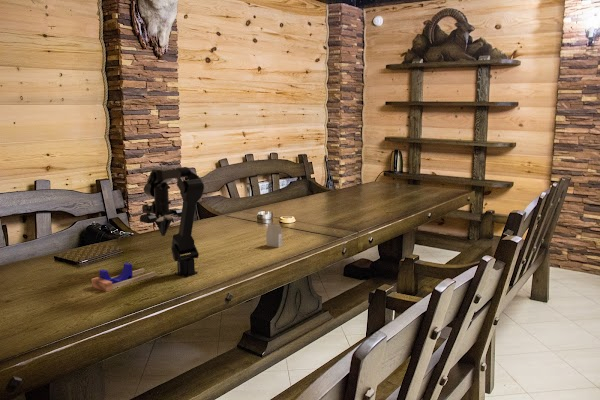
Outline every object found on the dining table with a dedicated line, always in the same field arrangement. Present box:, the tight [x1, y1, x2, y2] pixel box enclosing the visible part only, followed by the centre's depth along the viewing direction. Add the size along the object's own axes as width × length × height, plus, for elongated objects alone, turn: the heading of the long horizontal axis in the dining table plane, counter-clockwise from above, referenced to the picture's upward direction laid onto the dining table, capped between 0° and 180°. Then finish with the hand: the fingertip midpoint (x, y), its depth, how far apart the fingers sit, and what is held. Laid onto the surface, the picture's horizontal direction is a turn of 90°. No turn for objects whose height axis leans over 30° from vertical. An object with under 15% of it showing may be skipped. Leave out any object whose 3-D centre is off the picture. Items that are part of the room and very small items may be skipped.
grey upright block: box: [265, 223, 284, 248], centre depth 258 cm, size 4×7×10 cm, turn 61°
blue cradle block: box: [99, 262, 134, 284], centre depth 205 cm, size 12×4×6 cm, turn 144°
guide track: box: [91, 267, 157, 292], centre depth 207 cm, size 9×22×3 cm, turn 144°
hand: (163, 235), depth 228 cm, fingers closed
